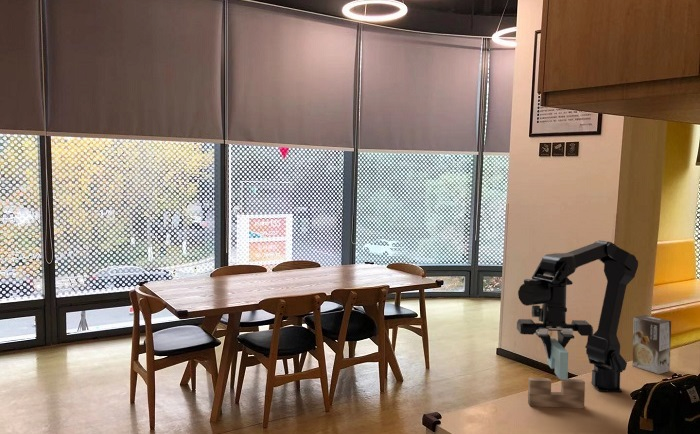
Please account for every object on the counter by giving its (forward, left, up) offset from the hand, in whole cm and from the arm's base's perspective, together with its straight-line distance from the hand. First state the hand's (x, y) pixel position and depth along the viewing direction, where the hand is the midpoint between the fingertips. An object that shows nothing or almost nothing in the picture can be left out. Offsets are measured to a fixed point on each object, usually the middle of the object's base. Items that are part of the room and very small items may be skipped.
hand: (553, 358), depth 146 cm
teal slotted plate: (0, +4, -2) cm, 4 cm away
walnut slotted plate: (0, +4, -12) cm, 12 cm away
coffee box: (-38, -28, -12) cm, 49 cm away
